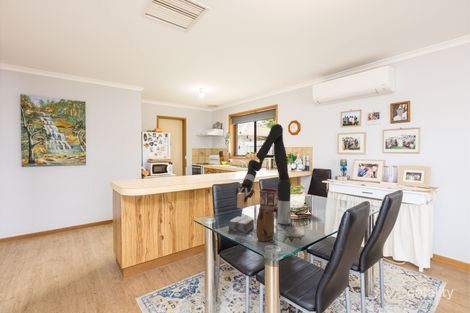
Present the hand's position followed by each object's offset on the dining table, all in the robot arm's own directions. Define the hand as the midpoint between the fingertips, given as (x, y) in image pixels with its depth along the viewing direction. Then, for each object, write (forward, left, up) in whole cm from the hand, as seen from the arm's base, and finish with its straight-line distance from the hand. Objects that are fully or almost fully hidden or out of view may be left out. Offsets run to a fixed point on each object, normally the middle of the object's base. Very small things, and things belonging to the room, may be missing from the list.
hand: (240, 201), depth 157 cm
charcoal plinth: (0, -2, -20) cm, 20 cm away
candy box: (-30, -62, -20) cm, 72 cm away
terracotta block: (0, -2, -5) cm, 5 cm away
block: (-21, +8, -20) cm, 30 cm away
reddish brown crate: (0, -60, -20) cm, 63 cm away
